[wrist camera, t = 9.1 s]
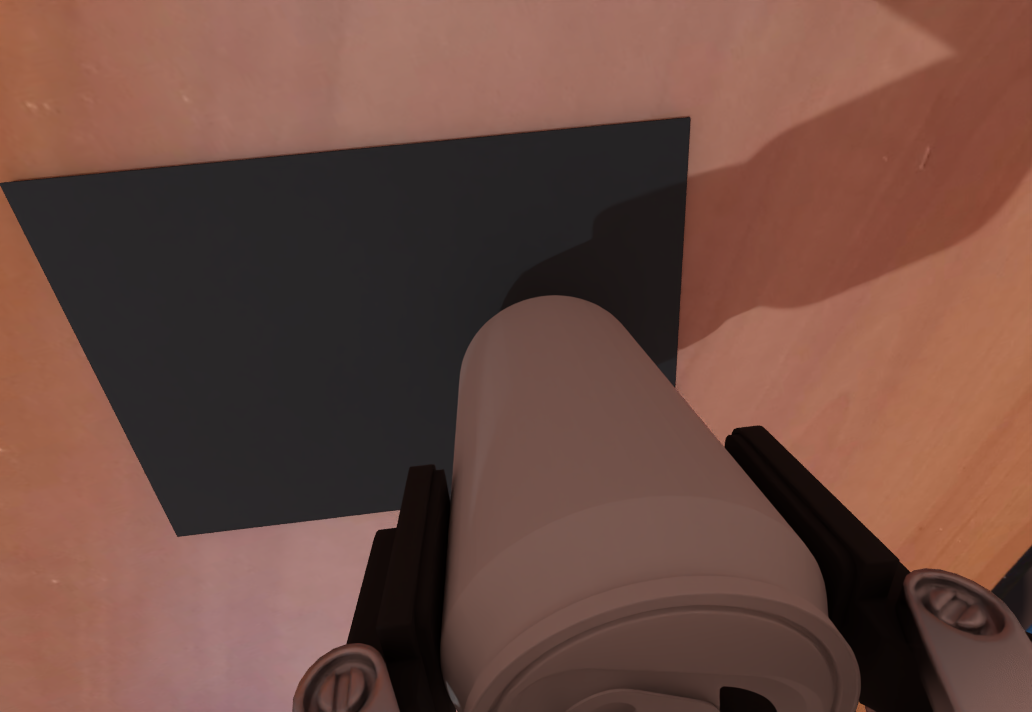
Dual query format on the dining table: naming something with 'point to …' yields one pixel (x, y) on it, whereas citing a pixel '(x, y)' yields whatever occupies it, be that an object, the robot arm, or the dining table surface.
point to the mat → (343, 299)
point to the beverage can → (616, 541)
